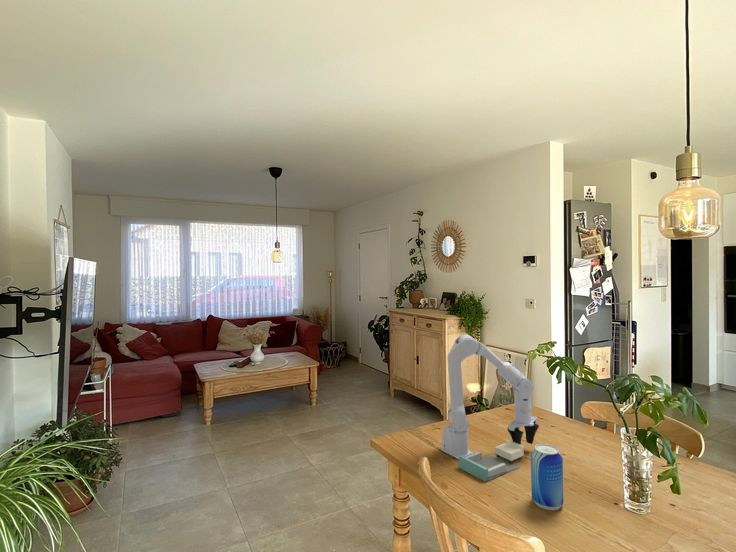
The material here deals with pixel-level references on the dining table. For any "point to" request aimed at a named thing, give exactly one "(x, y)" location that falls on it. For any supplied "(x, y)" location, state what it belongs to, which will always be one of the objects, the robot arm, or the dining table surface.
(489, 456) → the dock
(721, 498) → the dining table surface
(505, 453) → the cream notched block
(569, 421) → the dining table surface
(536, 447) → the beer can
